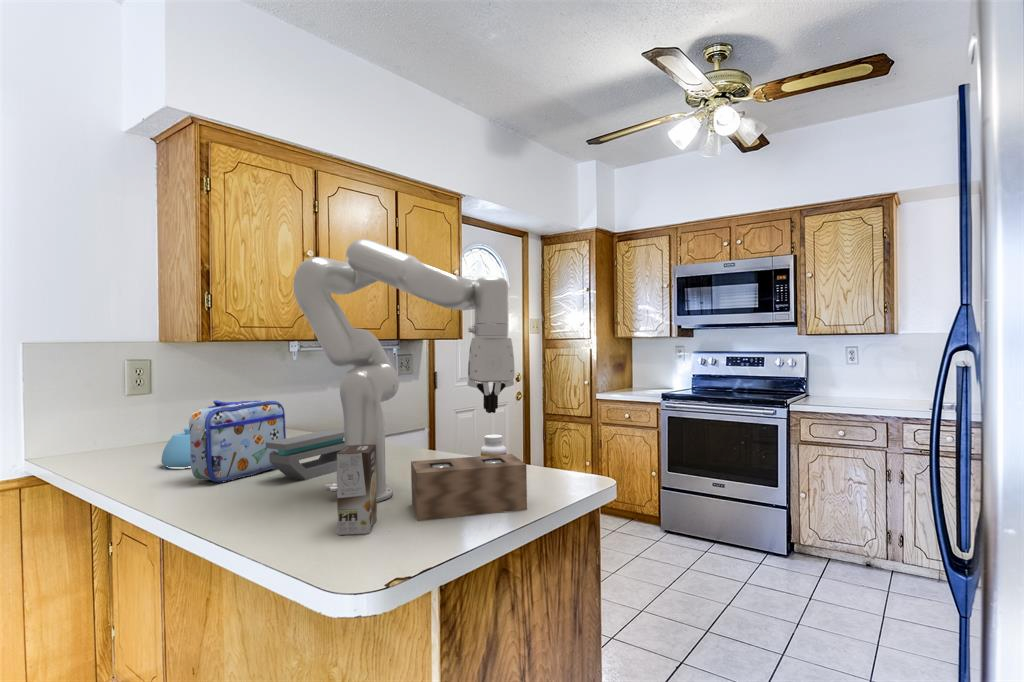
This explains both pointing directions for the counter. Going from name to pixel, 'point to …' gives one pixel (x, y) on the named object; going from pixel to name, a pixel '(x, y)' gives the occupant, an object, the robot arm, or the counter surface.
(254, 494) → the counter surface
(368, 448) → the coffee box
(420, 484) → the walnut block
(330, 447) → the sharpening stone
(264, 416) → the lunch box
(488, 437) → the supplement bottle
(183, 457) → the sugar bowl
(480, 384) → the robot arm
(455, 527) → the counter surface
